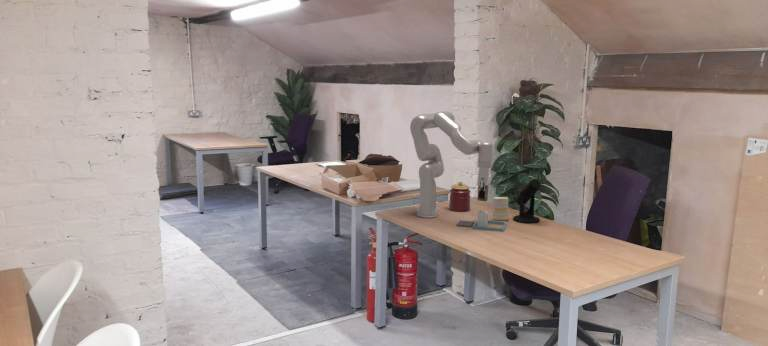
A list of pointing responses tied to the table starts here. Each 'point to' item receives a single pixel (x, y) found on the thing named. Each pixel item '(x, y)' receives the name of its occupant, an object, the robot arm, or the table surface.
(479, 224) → the grey block
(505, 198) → the supplement box
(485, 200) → the walnut block
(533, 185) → the microphone
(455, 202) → the canister
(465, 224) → the mat
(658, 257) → the table surface
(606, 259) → the table surface
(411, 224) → the table surface
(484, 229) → the tray
